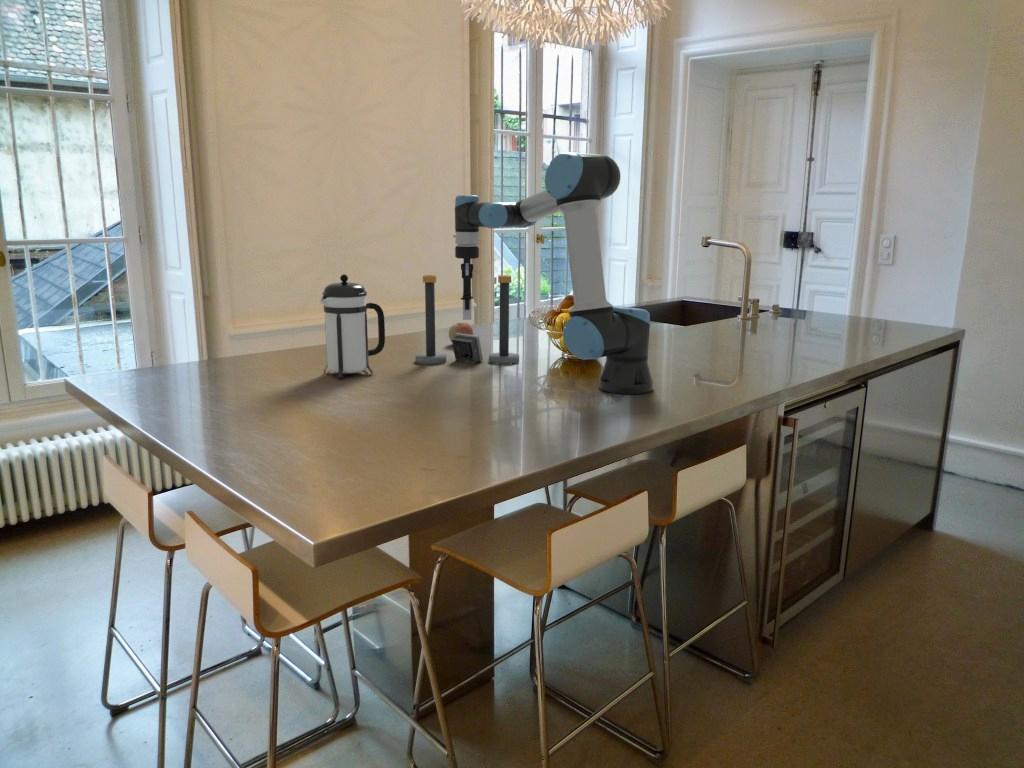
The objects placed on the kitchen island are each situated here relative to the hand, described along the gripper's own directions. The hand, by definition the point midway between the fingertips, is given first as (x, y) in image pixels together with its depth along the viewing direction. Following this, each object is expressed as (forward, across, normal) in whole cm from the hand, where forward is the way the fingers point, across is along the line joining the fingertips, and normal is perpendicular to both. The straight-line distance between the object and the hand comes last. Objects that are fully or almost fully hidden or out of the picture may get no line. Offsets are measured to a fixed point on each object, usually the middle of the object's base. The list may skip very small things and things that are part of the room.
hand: (467, 319), depth 245 cm
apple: (+14, -28, -2) cm, 32 cm away
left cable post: (+14, 0, -12) cm, 18 cm away
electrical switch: (+14, 0, 0) cm, 14 cm away
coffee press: (+14, +17, -35) cm, 42 cm away
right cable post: (+14, 0, +12) cm, 18 cm away
